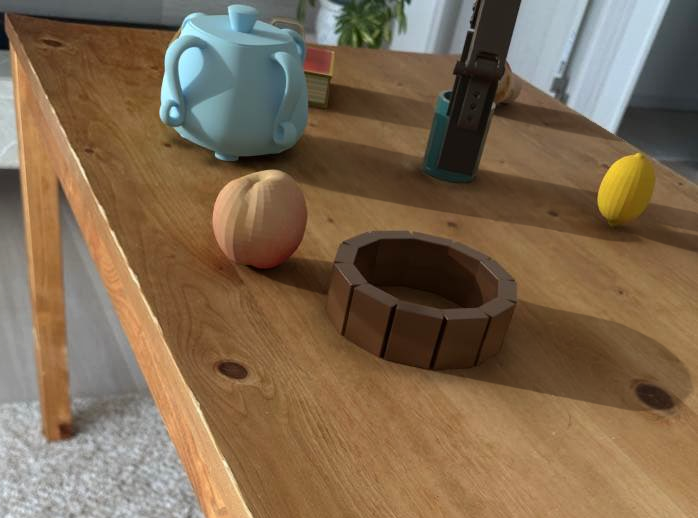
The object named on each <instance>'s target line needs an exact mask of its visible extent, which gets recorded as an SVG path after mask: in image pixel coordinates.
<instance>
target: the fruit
mask: <svg viewBox="0 0 698 518" xmlns="http://www.w3.org/2000/svg"><path fill="white" fill-rule="evenodd" d="M308 218H309V217H308V208H307V201H306V198H305V194H304V193H303V190H302V188H301V187H300V185H299V184H298V183H297V182H296V180H294V179H293V177H291V176H290V175H289V174H288V173H287V172H284V171H281V170H279V169H266V170H265V169H264V170H260V171H257V172H251V173H249V174H247V175H244V176H241V177H238V178H236V179H232V180H231V181H229V182H228V183H227V184H226V185H225V186H224V187H223V188H222V189H221V190H220V192H219V193H218V196H217V197H216V200H215V203H214V205H213V212H212V229H213V233H214V236H215V239H216V242H217V244H218V246H219V247H220V249H221V251H222V252H223V254H224V255H225V256H226V257H227V258H228V259H229V260H230V261H231V262H233V263H234V264H236V265H238V266H239V265H240V266H252V267H254V268H257V269H263V270H264V269H265V270H266V269H272V268H275V267H277V266H279V265H281V264H284V262H285V261H287V260H289V259H290V258H291V257H292V256H293V255H294V253H296V251H297V250H298V248H299V247H300V245H301V243H302V241H303V239H304V235H305V232H306V228H307V225H308Z"/></svg>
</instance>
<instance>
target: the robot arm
mask: <svg viewBox="0 0 698 518" xmlns="http://www.w3.org/2000/svg"><path fill="white" fill-rule="evenodd" d="M521 5H522V0H475V2H474V3H473V5H472V8H471V10H472V15H471V16H470V19H469V25H470V26H469V29H470V30H467V32H466V34H465V38H464V44H463V47H462V51H461V55H460V59H459V60H455V63H454V68H453V71H452V75H453V76H455V78H454V81H453V85H452V89H451V90H452V93H451V97H450V101H449V105H448V109H447V113H446V116H450V118H449V122H448V126H447V130H446V133H445V137H444V141H443V145H442V149H441V153H440V156H439V160H438V164H437V168H438V169H442V170H446V171H451V172H455V173H460V174H464V175H469V176H472V173H473V170H474V166H475V163H476V159H477V156H478V153H479V149H480V146H481V142H482V139H483V135H484V132H485V128H486V125H487V121H488V118H489V115H490V111H491V108H492V104H493V101H494V97H495V94H496V90H497V87H498V82H499V81H500V80H501V79H502V76H504V73H505V69H506V68H505V62H506V61H507V58H508V54H509V51H510V46H511V43H512V39H513V35H514V31H515V27H516V24H517V20H518V16H519V11H520V9H521ZM472 30H473V31H472Z"/></svg>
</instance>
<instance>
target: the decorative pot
mask: <svg viewBox="0 0 698 518" xmlns="http://www.w3.org/2000/svg"><path fill="white" fill-rule="evenodd" d="M227 11H228V14H214V15H213V14H212V15H209V14H207V13H204V12H193V13H190V14H189V15H187V16H186V17H185V18H184V20H183V21H182V24H181V25H182V29H181V35H180V37H179V38H178V39H176V40H175V41H174V42H173V43H172V44H171V45H170V46H169V48H168V47H167V49H168V50H167V49H166V52H165V57H164V73H163V78H162V84H161V89H160V103H161V104H160V107H159V118H160V120H161V121H162V123H163V124H164V125H165V126H167V127H170V128H173V129H174V130H175V131H176V132H177V133H178V134H179V135H180V136H181V138H183V139H186V140H188V141H189V142H192V143H194V144H196V145H198V146H201V147H203V148H205V149H208V150H211V151H214V156H215V158H217V159H218V160H221V161H226V162H235V161H238V160H239V157H254V156H262V155H263V156H264V155H270V154H272V155H274V154H280V153H282V152H284V151H286V150H289V149H291V148H293V147H294V146H295V145H296V144H297V142H298V141H299V139H300V138H301V137H302V135H303V134H304V133H305V132H306V130H307V126H308V118H309V105H308V93H307V85H306V80H305V75H304V71H303V65H304V62H305V57H306V47H307V45H306V40H305V39H304V38H303V36H302V35H301V34H300V33H299V32H297V31H296V30H293V29H291V28H282V29H280V28H278V27H276V26H274V25H272V24H269V23H267V22H264V21H261V20H258V19H259V15H260V10H258V9H256V8H255V7H252V6H249V5H244V4H231V5H229V6H228V7H227Z"/></svg>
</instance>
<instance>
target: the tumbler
mask: <svg viewBox="0 0 698 518" xmlns="http://www.w3.org/2000/svg"><path fill="white" fill-rule="evenodd" d="M451 93H452V89H444V90H442V91H439V93H438V97H437V102H436V105H435V110H434V114H433V119H432V123H431V126H430V131H429V135H428V139H427V143H426V147H425V152H424V156H423V159H422V163H421V168H422V169H423V171H424V172H425V173H426V174H428V175H430V176H432V177H434V178H436V179H439V180H442V181H446V182H450V183H451V182H452V183H470V182H471V181H472V182H473V181H474V180H475V178H476V175H477V174H478V169H479V167H480V163H481V159H482V156H483V153H484V149H485V145H486V142H487V139H488V135H489V132H490V127H491V124H492V121H493V117H494V114H495V110H496V105H495V103H494V102H493V104H492V108H491V111H490V115H489V118H488V121H487V125H486V128H485V132H484V135H483V139H482V142H481V146H480V149H479V153H478V156H477V159H476V163H475V166H474V170H473V173H472V176H469V175H464V174H460V173H455V172H451V171H446V170H442V169H438V168H437V164H438V160H439V156H440V153H441V149H442V145H443V141H444V137H445V133H446V130H447V126H448V122H449V118H450V116H446V113H447V109H448V105H449V101H450V97H451Z"/></svg>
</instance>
